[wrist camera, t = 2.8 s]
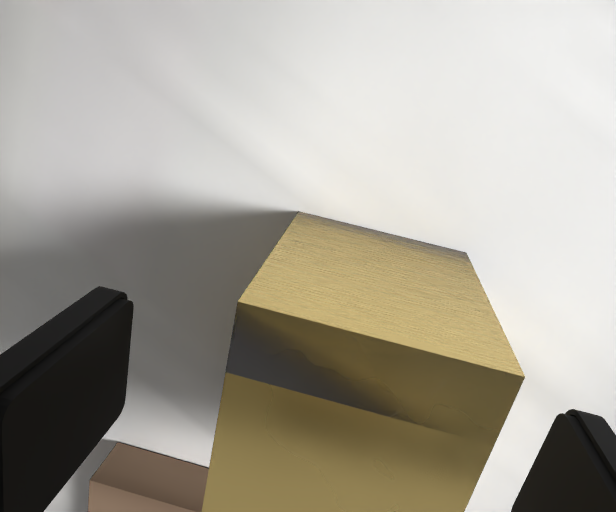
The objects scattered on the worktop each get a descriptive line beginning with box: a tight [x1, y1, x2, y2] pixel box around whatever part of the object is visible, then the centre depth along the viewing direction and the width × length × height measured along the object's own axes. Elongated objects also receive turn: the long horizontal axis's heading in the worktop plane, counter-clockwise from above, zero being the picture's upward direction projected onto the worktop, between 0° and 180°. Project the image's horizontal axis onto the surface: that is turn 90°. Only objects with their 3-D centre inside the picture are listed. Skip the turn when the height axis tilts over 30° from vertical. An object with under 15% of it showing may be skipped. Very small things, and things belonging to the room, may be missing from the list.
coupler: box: [202, 212, 525, 512], centre depth 10 cm, size 6×4×5 cm, turn 168°
